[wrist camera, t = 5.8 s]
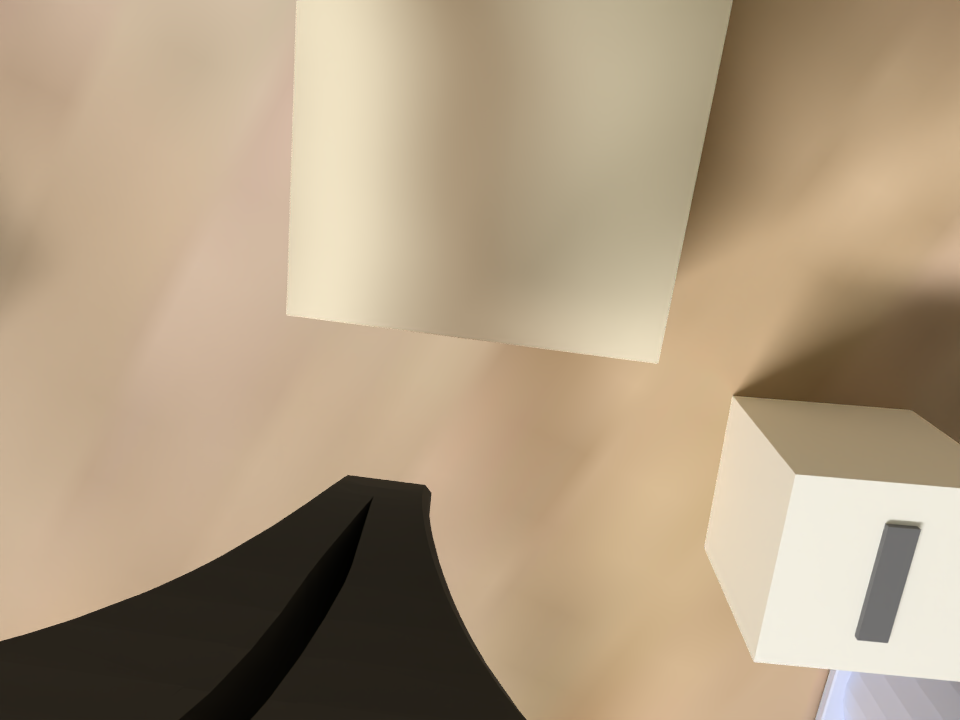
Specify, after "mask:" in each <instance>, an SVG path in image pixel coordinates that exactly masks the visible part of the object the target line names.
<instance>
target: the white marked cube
mask: <svg viewBox="0 0 960 720" xmlns="http://www.w3.org/2000/svg"><path fill="white" fill-rule="evenodd" d="M704 549H705V551H706V553H707V555H708V558H709V560H710V562H711V565H712V567H713V569H714V572H715V574H716V576H717V578H718V581H719V583H720V585H721V588H722V590H723V592H724V595H725V597H726V599H727V601H728V604H729V606H730V608H731V611H732V613H733V615H734V618H735V620H736V622H737V624H738V627H739V629H740V631H741V634H742V636H743V638H744V641H745V643H746V645H747V647H748V650H749V652H750V654H751V657H752V659H753V661H754V662H759V663H770V664H780V665H791V666H801V667H812V668H822V669H832V670H843V671H853V672H864V673H874V674H885V675H895V676H905V677H916V678H926V679H937V680H947V681H958V682H960V444H959V443H958V442H956V441H955V440H953V439H952V438H951V437H949V436H948V435H946V434H945V433H943V432H942V431H941V430H939V429H938V428H936V427H935V426H934V425H932V424H931V423H929V422H928V421H926V420H925V419H924V418H922V417H921V416H919V415H918V414H916V413H915V412H914V411H912V410H905V409H893V408H881V407H868V406H856V405H843V404H831V403H818V402H806V401H793V400H781V399H768V398H756V397H743V396H732V401H731V406H730V411H729V417H728V422H727V428H726V433H725V438H724V444H723V449H722V454H721V460H720V465H719V471H718V476H717V481H716V487H715V492H714V497H713V503H712V508H711V514H710V519H709V524H708V530H707V535H706V540H705V546H704Z"/></svg>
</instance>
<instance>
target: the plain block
mask: <svg viewBox="0 0 960 720" xmlns="http://www.w3.org/2000/svg"><path fill="white" fill-rule="evenodd" d="M732 3H733V0H296V27H295V59H294V90H293V121H292V153H291V184H290V216H289V247H288V279H287V310H286V315H289V316H296V317H304V318H312V319H319V320H327V321H335V322H342V323H350V324H358V325H365V326H373V327H381V328H388V329H396V330H404V331H411V332H419V333H427V334H434V335H442V336H450V337H457V338H465V339H472V340H480V341H488V342H495V343H503V344H511V345H518V346H526V347H534V348H541V349H549V350H557V351H564V352H572V353H580V354H587V355H595V356H603V357H610V358H618V359H626V360H633V361H641V362H649V363H656V364H658V362H659V357H660V353H661V348H662V343H663V338H664V333H665V328H666V323H667V319H668V314H669V309H670V304H671V299H672V294H673V290H674V285H675V280H676V275H677V270H678V265H679V260H680V256H681V251H682V246H683V241H684V236H685V231H686V226H687V222H688V217H689V212H690V207H691V202H692V197H693V192H694V188H695V183H696V178H697V173H698V168H699V163H700V158H701V154H702V149H703V144H704V139H705V134H706V129H707V124H708V120H709V115H710V110H711V105H712V100H713V95H714V90H715V86H716V81H717V76H718V71H719V66H720V61H721V56H722V52H723V47H724V42H725V37H726V32H727V27H728V22H729V18H730V13H731V8H732Z"/></svg>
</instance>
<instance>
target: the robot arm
mask: <svg viewBox="0 0 960 720" xmlns="http://www.w3.org/2000/svg"><path fill="white" fill-rule="evenodd" d="M430 502H431V492H430V491H429V489H428V488H427V487H426V486H425V485H420V484H413V483H405V482H397V481H389V480H381V479H373V478H366V477H358V476H350V475H347V476H346V477H344V478H343V479H341V480H340V481H338V482H337V483H335V484H334V485H332V486H331V487H329V488H328V489H327V490H325V491H324V492H322V493H321V494H319V495H318V496H317V497H315V498H314V499H312V500H311V501H309V502H308V503H307V504H305V505H304V506H302V507H301V508H299V509H298V510H296V511H295V512H293V513H292V514H290V515H289V516H287V517H286V518H284V519H283V520H281V521H280V522H278V523H277V524H275V525H273V526H272V527H270V528H269V529H267V530H265V531H263V532H262V533H260V534H258V535H257V536H255V537H253V538H252V539H250V540H248V541H246V542H245V543H243V544H241V545H240V546H238V547H236V548H235V549H233V550H231V551H229V552H228V553H226V554H224V555H223V556H221V557H219V558H217V559H215V560H213V561H211V562H209V563H207V564H205V565H203V566H201V567H199V568H197V569H196V570H194V571H192V572H189V573H187V574H185V575H183V576H181V577H178V578H176V579H174V580H172V581H170V582H168V583H165V584H163V585H161V586H159V587H157V588H154V589H152V590H150V591H147V592H145V593H142V594H140V595H137V596H134V597H132V598H129V599H126V600H124V601H121V602H118V603H116V604H113V605H110V606H108V607H105V608H102V609H100V610H97V611H94V612H92V613H89V614H86V615H84V616H81V617H78V618H76V619H73V620H70V621H67V622H64V623H60V624H57V625H54V626H51V627H48V628H44V629H41V630H38V631H35V632H32V633H28V634H25V635H21V636H18V637H14V638H11V639H7V640H4V641H0V720H526V718H525V717H524V716H523V715H522V714H521V712H520V711H519V710H518V709H517V707H516V706H515V704H514V703H513V701H512V700H511V699H510V697H509V696H508V694H507V693H506V691H505V690H504V689H503V687H502V686H501V684H500V683H499V681H498V680H497V679H496V677H495V676H494V674H493V673H492V671H491V670H490V669H489V667H488V666H487V664H486V663H485V661H484V659H483V658H482V656H481V654H480V652H479V651H478V649H477V647H476V645H475V644H474V642H473V640H472V638H471V637H470V635H469V633H468V631H467V629H466V627H465V625H464V623H463V621H462V619H461V617H460V615H459V613H458V610H457V608H456V606H455V604H454V601H453V599H452V596H451V594H450V591H449V589H448V586H447V583H446V581H445V578H444V575H443V572H442V569H441V566H440V563H439V560H438V556H437V552H436V548H435V544H434V541H433V536H432V531H431V525H430V518H429V513H430ZM815 720H960V682H958V681H947V680H937V679H926V678H916V677H905V676H895V675H885V674H874V673H864V672H853V671H843V670H832V669H830V672H829V675H828V679H827V682H826V685H825V689H824V692H823V695H822V699H821V702H820V705H819V709H818V712H817V715H816V719H815Z"/></svg>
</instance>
